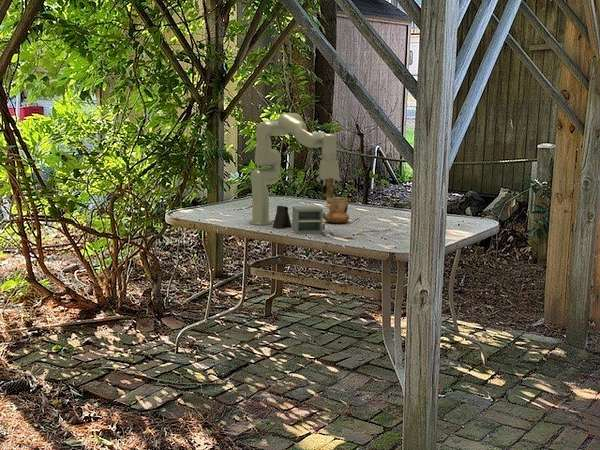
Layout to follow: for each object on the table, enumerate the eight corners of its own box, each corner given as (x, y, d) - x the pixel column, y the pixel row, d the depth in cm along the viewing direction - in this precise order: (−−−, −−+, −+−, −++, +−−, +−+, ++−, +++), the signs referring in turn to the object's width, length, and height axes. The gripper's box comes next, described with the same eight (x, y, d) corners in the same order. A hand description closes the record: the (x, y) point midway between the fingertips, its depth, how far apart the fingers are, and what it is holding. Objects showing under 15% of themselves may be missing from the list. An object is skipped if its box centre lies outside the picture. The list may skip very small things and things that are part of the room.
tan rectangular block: (327, 197, 395) (327, 178, 393) (323, 196, 402) (324, 177, 401) (334, 197, 395) (334, 178, 394) (330, 195, 403) (331, 177, 402)
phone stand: (280, 229, 419) (280, 207, 417) (272, 227, 423) (272, 206, 422) (291, 227, 426) (292, 206, 424) (284, 226, 430) (284, 204, 428)
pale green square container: (292, 230, 417) (292, 206, 415) (324, 229, 420) (324, 205, 418) (300, 236, 395) (300, 212, 393) (333, 236, 399) (334, 211, 397)
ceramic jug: (336, 225, 434) (337, 200, 431) (317, 222, 443) (318, 198, 441) (356, 222, 446) (357, 198, 444) (338, 219, 456) (338, 195, 454)
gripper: (315, 158, 391) (314, 194, 393) (346, 158, 394) (345, 193, 397) (312, 157, 398) (311, 192, 401) (342, 157, 401) (341, 192, 404)
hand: (328, 192), depth 399 cm, fingers closed on tan rectangular block, 3 cm apart
